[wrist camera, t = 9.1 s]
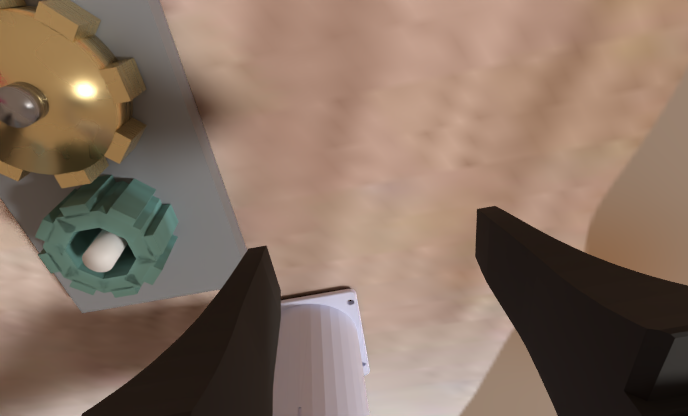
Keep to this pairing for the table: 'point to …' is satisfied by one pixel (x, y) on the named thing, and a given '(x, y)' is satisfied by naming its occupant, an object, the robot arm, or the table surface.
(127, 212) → the loose gear
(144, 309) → the table surface
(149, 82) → the gear board
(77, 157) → the brass gear
